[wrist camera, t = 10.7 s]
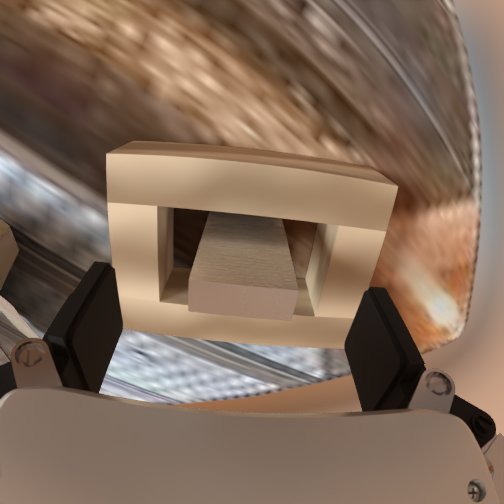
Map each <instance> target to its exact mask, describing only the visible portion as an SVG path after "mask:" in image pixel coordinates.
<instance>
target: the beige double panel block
mask: <svg viewBox="0 0 504 504" xmlns="http://www.w3.org/2000/svg"><path fill="white" fill-rule="evenodd" d="M18 252H19V247H18V245H17V243H16V240H15V238H14V236H13V233H12V231H11V229H10V227H9V225H8V224H6V223H5V222H4V221H3V220H1V219H0V291H1V288H2V286H3V284H4V281H5V279H6V277H7V275H8V273H9V271H10V268H11V266H12V264H13V262H14V260H15V258H16V257H17V255H18ZM0 310H1V311H2V313H3V314H4V315H5V316H6V317H7V318H8V319H9V320H10V321H11V323H12V324H13V325H14V326H15V327H16V328H17V329H18V330H19V331H20V332H21V333H23V334H24V335H25V336H27V337H28V338H39V337H38V336H37V335H36V333H34V332H33V330H32V329H31V328H30V326H28V325H27V323H25V321H24V319H23V318H21V316H19V314H18V312H17V311H16V310H15V308H14V307H13V306H12V305H11V304H10V303H9V302H8V301H7V300H5V299H4V298H3V297H2V296H1V295H0ZM39 339H40V338H39Z"/></svg>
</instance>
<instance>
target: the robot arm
mask: <svg viewBox="0 0 504 504" xmlns="http://www.w3.org/2000/svg"><path fill="white" fill-rule="evenodd" d="M122 330H123V319H122V313H121V307H120V301H119V294H118V287H117V280H116V272H115V268H114V267H111V265H110V263H105V262H94V263H93V264H92V266H91V267H90V269H89V270H88V272H87V273H86V275H85V276H84V277H83V279H82V280H81V282H80V283H79V285H78V286H77V288H76V289H75V291H74V292H73V293H72V294H71V295H70V296H69V297H68V299H67V300H66V302H65V303H64V305H63V306H62V308H61V309H60V311H59V313H58V314H57V316H56V317H55V319H54V321H53V322H52V324H51V325H50V327H49V329H48V330H47V332H46V334H45V335H44V337H43V339H39V338H28V339H25V340H22V341H20V342H19V343H18V344H17V345H16V346H15V347H14V348H13V350H12V353H11V361H10V362H7V363H5V364H3V365H0V504H504V437H503V436H502V434H500V433H499V434H498V435H496V426H495V423H494V421H493V419H492V418H491V417H490V416H489V415H488V414H487V413H486V412H484V411H482V410H481V409H479V408H477V407H475V406H474V405H472V404H470V403H468V402H467V401H465V400H463V399H462V398H460V397H458V396H457V395H455V384H454V382H453V380H452V378H451V377H450V376H449V375H448V374H447V373H445V372H444V371H442V370H439V369H434V368H432V369H428V370H426V368H425V366H424V364H425V363H424V361H423V359H422V357H421V355H420V353H419V351H418V349H417V347H416V345H415V343H414V341H413V339H412V337H411V335H410V333H409V331H408V329H407V327H406V325H405V323H404V321H403V320H402V318H401V316H400V314H399V312H398V310H397V308H396V307H395V305H394V303H393V301H392V299H391V298H390V296H389V294H388V292H387V290H386V289H385V288H381V287H370V288H369V289H368V290H366V291H365V292H364V294H363V296H362V299H361V302H360V304H359V307H358V309H357V312H356V315H355V317H354V320H353V322H352V325H351V327H350V330H349V332H348V335H347V337H346V340H345V344H344V348H345V352H346V355H347V359H348V362H349V365H350V369H351V372H352V376H353V379H354V382H355V386H356V389H357V393H358V397H359V400H360V404H361V407H362V411H363V412H345V413H318V414H278V413H249V412H231V411H219V410H207V409H197V408H188V407H179V406H171V405H164V404H157V403H150V402H144V401H138V400H132V399H126V398H121V397H115V396H110V395H104V394H99V391H100V388H101V385H102V382H103V379H104V377H105V374H106V371H107V369H108V366H109V363H110V361H111V358H112V355H113V353H114V350H115V348H116V345H117V343H118V340H119V338H120V335H121V333H122Z"/></svg>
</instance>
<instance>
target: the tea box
mask: <svg viewBox="0 0 504 504" xmlns="http://www.w3.org/2000/svg"><path fill="white" fill-rule="evenodd" d="M7 362H10V360H9V359H8V357H7V356H6V355H5V353H4V352H3V351H2V349H1V348H0V365H3V364H5V363H7Z"/></svg>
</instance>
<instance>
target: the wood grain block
mask: <svg viewBox="0 0 504 504" xmlns="http://www.w3.org/2000/svg"><path fill="white" fill-rule="evenodd" d="M298 292H299V289H298V284H297V280H296V276H295V271H294V267H293V263H292V258H291V254H290V250H289V246H288V242H287V237H286V233H285V229H284V225H283V221H282V218H274V217H265V216H256V215H247V214H237V213H227V212H217V211H210V212H209V215H208V218H207V221H206V225H205V228H204V231H203V234H202V237H201V241H200V244H199V247H198V250H197V254H196V257H195V260H194V263H193V267H192V270H191V273H190V277H189V289H188V311H190V312H198V313H207V314H216V315H226V316H236V317H247V318H258V319H270V320H283V321H292V317H293V313H294V309H295V305H296V301H297V296H298Z"/></svg>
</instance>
